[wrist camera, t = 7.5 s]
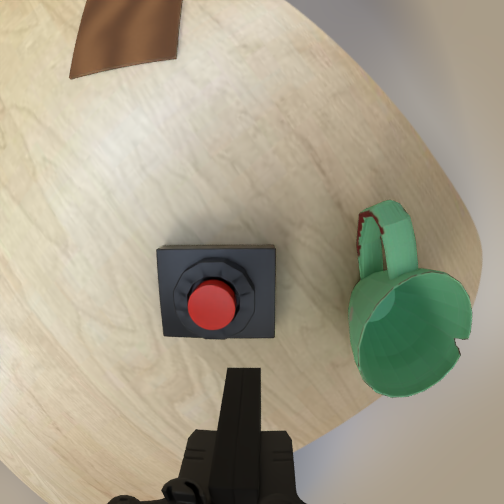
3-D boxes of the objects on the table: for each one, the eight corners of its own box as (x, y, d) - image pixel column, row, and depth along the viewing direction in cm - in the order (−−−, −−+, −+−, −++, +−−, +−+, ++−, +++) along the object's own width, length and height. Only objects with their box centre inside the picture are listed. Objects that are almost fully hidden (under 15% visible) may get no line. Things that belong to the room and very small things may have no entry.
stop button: (235, 279, 24) (234, 285, 23) (236, 321, 25) (235, 330, 23) (190, 279, 24) (186, 284, 23) (193, 321, 25) (189, 329, 23)
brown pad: (185, -24, 23) (184, -27, 22) (176, 58, 25) (175, 56, 24) (89, -3, 23) (87, -4, 22) (71, 79, 25) (68, 78, 24)
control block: (273, 244, 28) (277, 251, 24) (272, 328, 29) (276, 347, 25) (163, 245, 28) (149, 252, 24) (169, 327, 29) (158, 345, 25)
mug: (420, 323, 29) (473, 364, 19) (337, 357, 29) (368, 416, 20) (393, 186, 27) (453, 182, 17) (297, 217, 27) (321, 226, 17)
